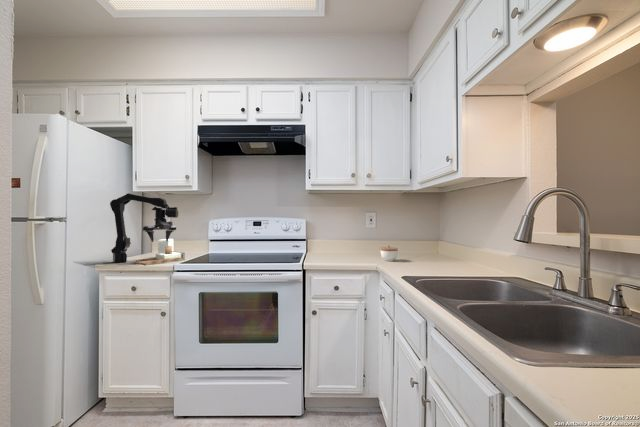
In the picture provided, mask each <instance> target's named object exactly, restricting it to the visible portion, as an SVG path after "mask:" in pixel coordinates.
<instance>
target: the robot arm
mask: <svg viewBox="0 0 640 427" xmlns="http://www.w3.org/2000/svg"><path fill="white" fill-rule="evenodd" d="M131 201H134V202H141V203H146V204H150V205H151V206H154V207H153V208H151V211H155V212H154V214H155V215H154V220H153V221H154V223H155V224H154V225H144V226H143V228H142V231H143V232H145V233H146V234H147V235H148V236H149V239H150V242H151V243H154V233H155V230H161V231H162V230H165V239H166V241H168V239H170V236H171V234H172V233H174V231H177V227H176V225H173V221H167V218H169V219H170V218H171V219H172V218H175V219H176V218H178V217H179V210H178V207H177V206H173V207H170V205H168V203H167V200H166V199H165V198H162V197H149V196H142V195H137V194H133V193H130V192H129V193H125V195H122V196H120V197H117V198H115V199H113V200H110V202H109V206H110V208H111V210H112V212H113V214H114V222H115V227H116V228H115V229H116V236H117V237H116V240H115V246H114V247H113V248H112V249H111V250H110V252H111V253H112V261H111V263H113V262H115V263H114V264H119V263H118V262H121V263H127V262H128V258H127V257H128V254H127V251H128V249H129V248H130V247H131V244H132V243H131V238H130V237H128V236H127V234H126V225H125V219H124V218H125V216H124V212H125V207H126V205H127V204H128V203H130V202H131ZM166 217H167V218H166ZM126 261H127V262H126Z"/></svg>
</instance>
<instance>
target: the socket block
mask: <svg viewBox="0 0 640 427" xmlns="http://www.w3.org/2000/svg"><path fill="white" fill-rule="evenodd" d="M180 257H181V253H174V252H172V254H167V255H166V254H165V253H161V254H158V253H156V254H155V258H156V259H157V260H164V259H172V258H180Z"/></svg>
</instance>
